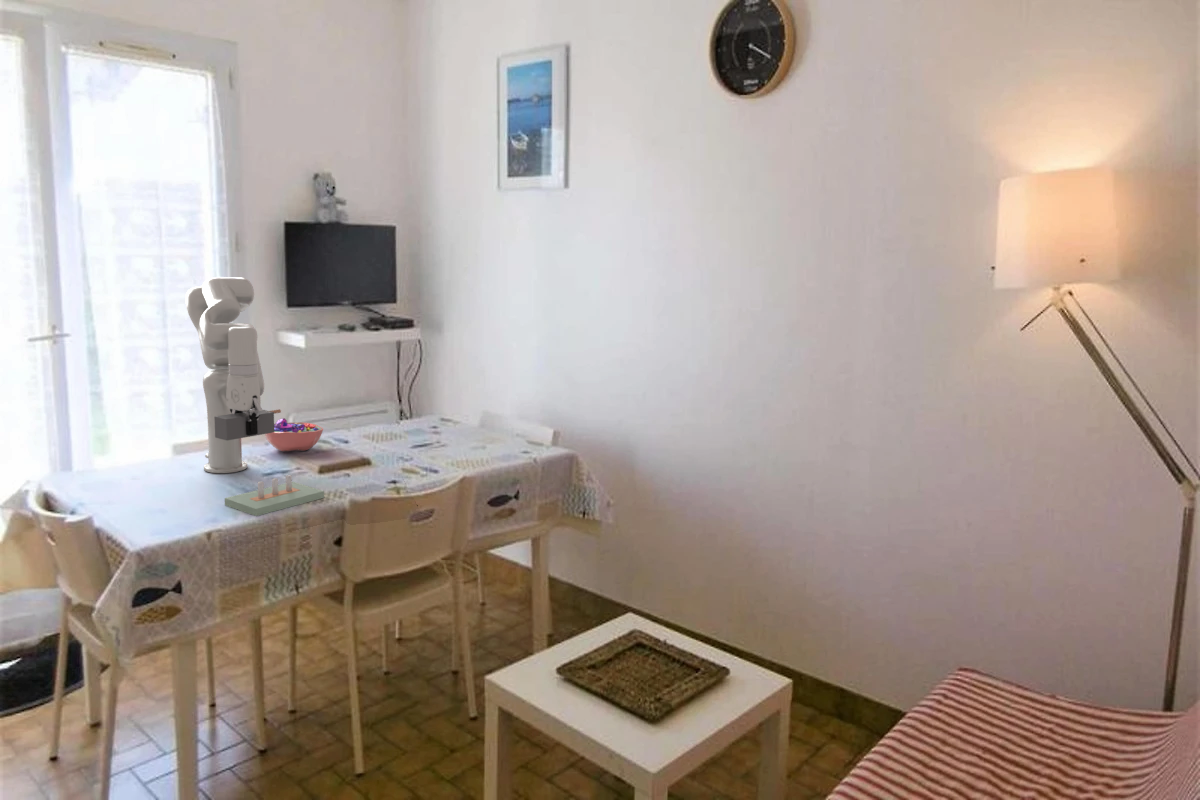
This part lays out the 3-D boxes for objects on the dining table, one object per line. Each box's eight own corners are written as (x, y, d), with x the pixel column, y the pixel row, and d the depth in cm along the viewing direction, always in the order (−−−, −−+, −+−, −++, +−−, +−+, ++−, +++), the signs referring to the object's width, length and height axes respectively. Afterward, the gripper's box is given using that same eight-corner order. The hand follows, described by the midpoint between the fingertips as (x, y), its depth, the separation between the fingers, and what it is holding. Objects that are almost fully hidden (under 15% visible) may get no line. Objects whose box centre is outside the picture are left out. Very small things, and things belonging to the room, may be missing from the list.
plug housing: (215, 437, 238) (214, 416, 237) (274, 427, 254) (274, 407, 253) (226, 440, 235) (226, 419, 234) (286, 430, 251) (285, 410, 250)
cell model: (313, 458, 285) (313, 425, 283) (254, 455, 285) (253, 422, 283) (330, 446, 302) (329, 415, 300) (274, 443, 302) (273, 412, 300)
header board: (224, 505, 234) (224, 482, 233) (292, 488, 252) (292, 466, 251) (256, 516, 226) (255, 492, 225) (323, 497, 244) (323, 475, 243)
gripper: (213, 368, 241) (215, 430, 244) (249, 375, 232) (251, 439, 235) (237, 365, 247) (239, 426, 251) (273, 372, 238) (275, 435, 241)
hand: (245, 432), depth 243 cm, fingers closed on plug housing, 5 cm apart
